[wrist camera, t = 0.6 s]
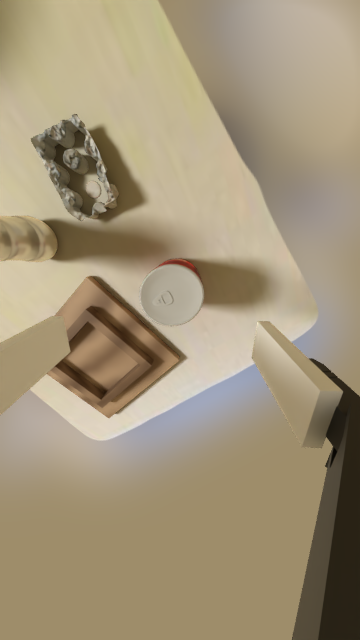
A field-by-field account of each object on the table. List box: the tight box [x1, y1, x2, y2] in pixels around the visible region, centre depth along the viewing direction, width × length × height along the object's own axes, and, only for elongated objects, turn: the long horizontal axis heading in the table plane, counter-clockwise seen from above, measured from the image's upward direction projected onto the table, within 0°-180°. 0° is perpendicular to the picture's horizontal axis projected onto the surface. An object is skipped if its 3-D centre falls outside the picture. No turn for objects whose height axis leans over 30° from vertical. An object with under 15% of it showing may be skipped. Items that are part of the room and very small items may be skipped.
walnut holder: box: [47, 276, 180, 418], centre depth 38 cm, size 22×22×4 cm
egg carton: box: [31, 114, 119, 221], centre depth 27 cm, size 11×8×4 cm
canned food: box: [139, 259, 204, 326], centre depth 29 cm, size 8×8×11 cm
